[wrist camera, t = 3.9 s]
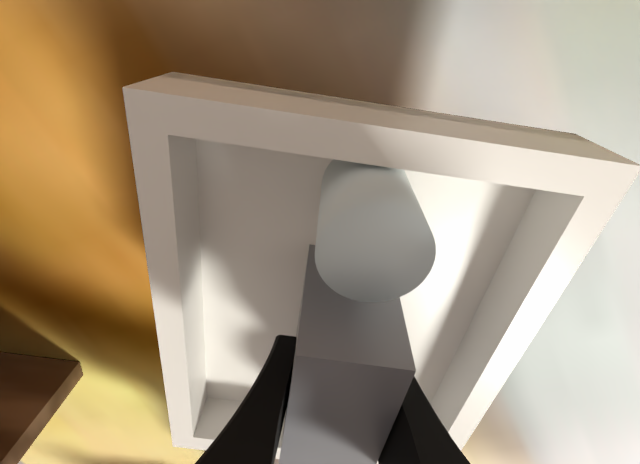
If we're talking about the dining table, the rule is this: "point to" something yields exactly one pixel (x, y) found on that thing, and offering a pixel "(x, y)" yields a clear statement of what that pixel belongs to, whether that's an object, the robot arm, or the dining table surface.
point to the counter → (30, 398)
